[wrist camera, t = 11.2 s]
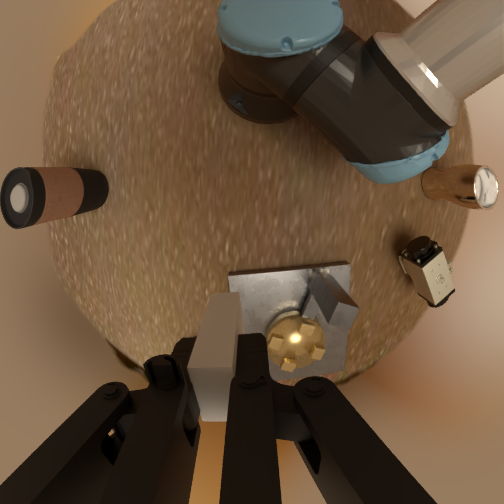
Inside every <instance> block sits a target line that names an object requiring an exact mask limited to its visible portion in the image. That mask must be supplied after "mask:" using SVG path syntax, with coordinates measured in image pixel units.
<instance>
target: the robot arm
mask: <svg viewBox="0 0 504 504" xmlns="http://www.w3.org/2000/svg"><path fill="white" fill-rule="evenodd" d="M343 19H344V17H343V11H342V9H341V8H340V7H339V1H338V0H222V1H221V3H220V5H219V9H218V24H217V25H218V27H217V32H218V35H219V37H220V39H221V44H222V48H223V52H224V56H225V59H224V61H223V63H222V65H221V67H220V71H219V88H220V91H221V94H222V97H223V99H224V101H225V102H226V104H227V105H228V106H229V108H230V109H231V110H232V111H234V112H235V113H236V114H237V115H239V116H241V117H242V118H244V119H247V120H249V121H252V122H256V123H263V124H273V123H280V122H283V121H286V120H289V119H291V118H293V117H295V116H296V115H297V114H299V115H300V116H301V117H302V118H304V119H305V120H306V121H307V122H308V123H309V124H310V125H312V126H313V127H314V128H315V129H316V130H317V131H318V132H319V133H320V134H321V135H322V136H324V137H325V138H326V139H327V140H328V141H329V142H330V143H331V144H332V145H333V146H334V147H335V148H336V149H337V150H338V151H339V152H340V153H341V154H342V157H343V158H344V160H345V161H346V162H348V163H350V164H351V165H353V166H354V167H355V168H356V169H357V170H358V171H359V172H360V173H361V174H362V175H363V176H365V177H366V178H367V179H369V180H371V181H373V182H376V183H379V184H391V183H397V182H401V181H404V180H406V179H409V178H412V177H414V176H416V175H418V174H420V173H421V172H423V171H425V170H426V169H427V168H429V167H430V166H431V165H432V161H434V160H437V159H439V158H440V157H441V156H442V155H443V154H444V153H445V151H446V149H447V147H448V145H449V134H448V129H450V128H451V127H453V126H454V125H455V124H456V123H457V114H458V106H459V104H460V102H461V101H463V100H464V99H466V98H467V97H469V96H470V95H472V94H473V93H475V92H476V91H478V90H479V89H481V88H482V87H484V86H485V85H487V84H488V83H490V82H491V81H493V80H494V79H496V78H497V77H499V76H500V75H502V74H503V73H504V0H437V1H436V2H434V3H433V4H432V5H431V6H430V7H428V8H427V9H426V10H425V11H424V12H422V13H421V14H420V15H419V16H418V17H417V18H415V19H414V20H413V21H412V22H411V23H410V24H408V25H407V26H406V27H405V28H404V29H403V30H402V31H400V32H398V33H387V32H376V33H374V34H373V35H372V36H371V37H370V38H369V39H368V40H367V41H366V42H365V41H364V40H363V39H362V38H360V37H359V36H358V35H357V34H355V33H354V32H353V31H352V30H350V29H349V28H348V27H347V26H345V25H344V24H343V23H344V22H343ZM143 366H144V368H145V371H146V374H147V377H148V380H149V382H150V384H149V386H148V388H146V389H141V390H135V391H129V389H128V388H127V386H126V385H125V384H123V383H121V382H110V383H107V384H104V385H102V386H101V387H100V388H98V389H97V390H96V391H95V392H94V393H93V394H92V395H91V396H90V397H89V398H88V399H87V400H86V401H85V402H84V403H83V404H82V405H81V406H80V407H79V408H78V409H77V410H76V411H75V412H74V413H73V414H72V415H71V416H70V417H69V418H68V419H67V420H66V421H65V422H64V423H62V424H61V426H59V427H58V429H56V430H55V432H53V433H52V434H51V435H50V436H49V437H48V438H47V439H46V440H45V441H44V442H43V443H42V444H41V445H40V446H39V447H38V448H37V449H36V450H35V451H34V452H33V453H32V454H31V455H30V456H29V457H28V458H27V459H26V460H25V461H24V462H23V463H22V464H21V465H20V466H19V467H18V468H17V469H16V470H15V471H14V472H13V473H12V474H11V475H10V476H9V477H8V478H7V479H6V480H5V481H4V482H3V483H2V484H1V485H0V504H189V498H190V492H191V486H192V480H193V473H194V468H195V462H196V456H197V450H198V444H199V438H200V433H201V430H200V425H199V422H198V420H199V415H200V414H201V418H202V421H227V423H226V434H225V445H224V456H223V467H222V478H221V490H220V501H219V504H282V501H281V489H280V478H279V466H278V456H277V444H276V439H282V440H289V441H294V444H295V445H296V447H297V449H298V451H299V453H300V455H301V457H302V459H303V461H304V463H305V464H306V466H307V468H308V470H309V472H310V474H311V476H312V477H313V479H314V481H315V482H316V485H317V487H318V488H319V490H320V492H321V494H322V496H323V497H324V499H325V501H326V503H327V504H437V503H436V502H435V501H434V499H433V498H432V497H431V496H430V495H429V494H428V493H427V492H426V491H425V489H424V488H423V487H422V486H421V485H420V484H419V483H418V482H417V480H416V479H415V478H414V477H413V476H412V475H411V474H410V473H409V472H408V470H407V469H406V468H405V467H404V466H403V465H402V463H401V462H400V461H399V460H398V459H397V458H396V456H395V455H394V454H393V453H392V452H391V451H390V450H389V448H388V447H387V446H386V445H385V444H384V443H383V441H382V440H381V439H380V438H379V437H378V436H377V434H376V433H375V432H374V431H373V430H372V428H371V427H370V426H369V425H368V424H367V423H366V421H365V420H364V419H363V418H362V417H361V415H360V414H359V413H358V412H357V411H356V410H355V408H354V407H353V406H352V405H351V404H350V402H349V401H348V400H347V399H346V398H345V396H344V395H343V394H342V393H341V392H340V390H339V389H338V388H337V387H336V385H335V384H334V383H333V382H332V381H330V380H329V379H327V378H324V377H318V376H312V377H306V378H304V379H302V380H300V381H298V382H297V383H296V384H295V386H288V385H283V384H280V383H278V382H276V381H275V380H273V379H272V377H271V376H270V371H269V361H268V351H267V341H266V337H265V336H264V335H263V334H262V333H250V334H244V326H243V318H242V309H241V301H240V292H227V293H214V294H211V297H210V300H209V303H208V306H207V309H206V312H205V315H204V317H203V320H202V323H201V326H200V329H199V332H198V335H197V337H193V338H182V339H181V340H180V341H179V342H177V343H176V345H175V347H174V349H173V352H172V354H171V355H167V354H164V355H158V356H154V357H152V358H150V359H148V360H147V361H146V362H145V363H144V364H143ZM111 429H113V431H114V433H113V434H112V435H111V436H109V435H108V433H109V432H110V431H111Z"/></svg>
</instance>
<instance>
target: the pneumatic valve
mask: <svg viewBox="0 0 504 504" xmlns="http://www.w3.org/2000/svg"><path fill="white" fill-rule="evenodd" d="M401 254H402V257H401V256H399V257H398V260H399V262H400V265H401V267H402V269H403V271H404V273H406V274H408V275H410V277H411V278H412V281H413V283H414V285H415V288H416V290H417V293H418V295H419V296H421V297H422V298H424V299H425V300H426V301H427V303H428V305H429V306H430V307H436V308H437V307H439V306H441V305H443V304H444V303H445V302H446V301H447V300H448V298H449V296H450V295H451V294H453V293H454V292H455V288H454V285H453V281H452V278H451V273H452V272H453V269H452V268H450V269H449V268H448V267H449V266H451V262H450V261H448V262H446V259H445V256H444V253H443V250H442V247H440V246H438V244H437V242H435V241H432V240H430V238H429V237H427V236H421V237H418V238H415V239H414V240H412V241H411V242H410V243H409V244H408V245H407V247H406V249H405V250H403V251H402V253H401Z"/></svg>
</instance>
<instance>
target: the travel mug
mask: <svg viewBox="0 0 504 504" xmlns="http://www.w3.org/2000/svg"><path fill="white" fill-rule="evenodd" d="M108 190H109V187H108V182H107V179H106V177H105V176H104V175H103V174H102V173H101V172H99V171H96V170H89V169H79V168H68V167H30V168H29V167H25V168H22V167H18V168H15V169H13V170H11V171H10V172H9V173H8V174H7V176H6V177H5V179H4V181H3V184H2V187H1V193H0V206H1V211H2V215H3V217H4V219H5V221H6V222H7V224H8V225H9V226H11V227H12V228H14V229H21V228H25V227H29V226H32V225H37V224H40V223H44V222H49V221H53V220H57V219H62V218H66V217H70V216H74V215H77V214H81V213H84V212H88V211H91V210H95V209H97V208H99V207H101V206H102V205H103V204H104V202H105V201H106V199H107V196H108Z"/></svg>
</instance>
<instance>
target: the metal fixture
mask: <svg viewBox="0 0 504 504" xmlns="http://www.w3.org/2000/svg"><path fill="white" fill-rule="evenodd" d="M308 288H309V289H310V293H309V295H308V298H307V300H306V302H305V304H304V307H303V309H302V311H290V312H286V313H283V314H281V315H279V316H278V317H276V318H275V319H274V320H273V321H272V322H271V323H270V325H269V326H268V328H267V330H266V334H265V337H266V341H267V351H268V356H269V358H270V359H271V360H272V362H274V363H275V364H276V365H278V366H280V370H285V371H289V372H293V370H294V369H297V368H302V367H305V366H308V365H310V364H311V363H313V362H314V361H316V360H321V358H322V356H323V354H324V352H325V351H326V349H325V344H326V337H325V334H324V331H323V329H322V327H321V325H320V323H319V321H318V320H317V319H316V318H315V315H316V313H317V311H318V309H319V308H320V310H321V312H322V313H323V315H324V317H325V319H326V321H327V323H328V324H330V325H333V326H337V327H341V328H345V329H350V327H351V325H352V323H353V321H354V319H355V317H356V315H357V313H358V311H359V309H360V308H359V307H358V306H357V304H356V303H355V302H354V301H353V300H352V299H351V297H350V296H349V295H348V294H347V293H346V291H345V290H344V289H343V288H342V287H341V286H340V284H339V283H338V282H337V281H336V280H335V279H334V277H333V276H332V275H330V274H328V273H325V272H322V271H319V270H316V269H315V270H314V272H313V275H312V277H311V279H310V282H309V284H308Z"/></svg>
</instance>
